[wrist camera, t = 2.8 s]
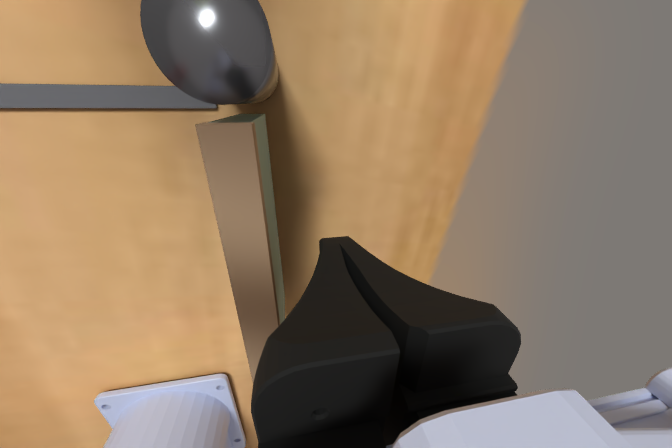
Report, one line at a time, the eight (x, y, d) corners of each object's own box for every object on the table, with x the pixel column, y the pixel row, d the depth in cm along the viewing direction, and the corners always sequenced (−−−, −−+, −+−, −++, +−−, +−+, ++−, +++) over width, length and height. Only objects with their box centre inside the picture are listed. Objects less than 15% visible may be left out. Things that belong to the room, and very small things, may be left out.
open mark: (217, 108, 11) (216, 108, 11) (-76, 107, 9) (-80, 107, 9) (213, 86, 10) (212, 86, 10) (-92, 82, 9) (-97, 81, 9)
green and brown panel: (237, 113, 10) (195, 124, 6) (267, 113, 11) (251, 124, 6) (265, 297, 15) (255, 395, 10) (286, 295, 15) (286, 390, 10)
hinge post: (281, 103, 11) (277, 104, 6) (223, 102, 11) (161, 104, 5) (275, 36, 10) (264, -38, 5) (211, 33, 10) (120, -51, 4)
